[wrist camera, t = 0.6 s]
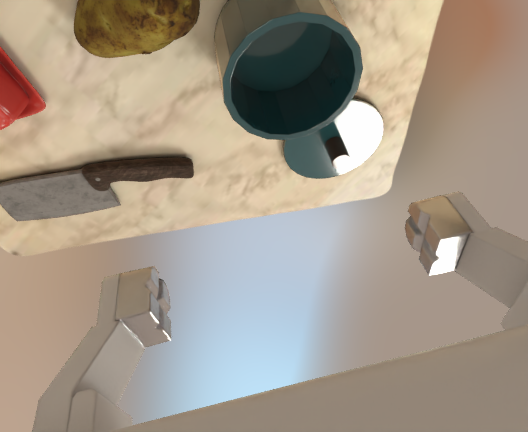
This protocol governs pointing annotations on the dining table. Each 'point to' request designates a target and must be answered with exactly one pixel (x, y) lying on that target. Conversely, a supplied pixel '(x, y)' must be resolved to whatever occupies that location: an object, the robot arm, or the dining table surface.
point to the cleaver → (83, 187)
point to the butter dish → (16, 93)
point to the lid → (337, 143)
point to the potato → (132, 25)
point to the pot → (285, 65)
